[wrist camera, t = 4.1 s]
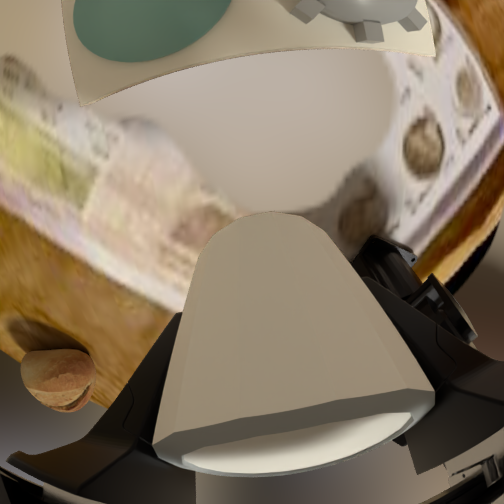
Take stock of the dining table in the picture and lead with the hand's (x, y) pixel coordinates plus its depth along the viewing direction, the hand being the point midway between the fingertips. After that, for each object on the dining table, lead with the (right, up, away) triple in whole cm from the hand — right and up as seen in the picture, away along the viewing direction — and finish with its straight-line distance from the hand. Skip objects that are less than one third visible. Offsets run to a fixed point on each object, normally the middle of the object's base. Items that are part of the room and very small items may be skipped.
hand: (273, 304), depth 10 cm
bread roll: (-27, -13, +21) cm, 37 cm away
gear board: (-1, +19, +1) cm, 19 cm away
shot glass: (0, +1, +1) cm, 2 cm away
